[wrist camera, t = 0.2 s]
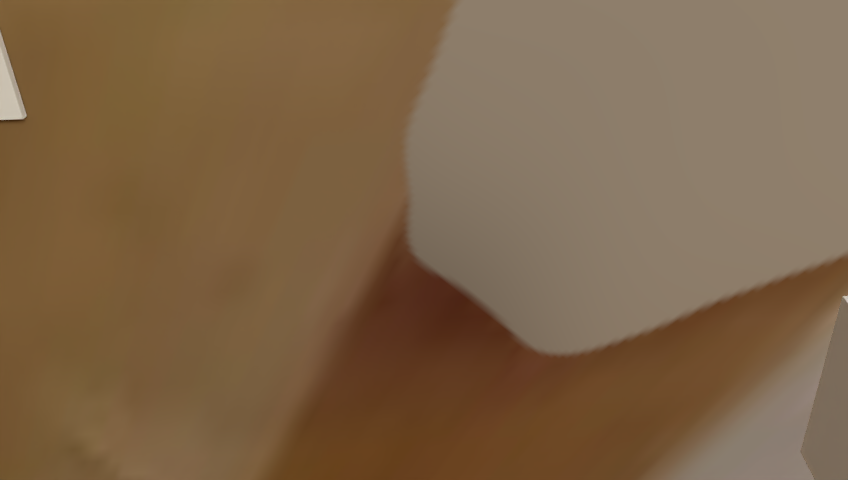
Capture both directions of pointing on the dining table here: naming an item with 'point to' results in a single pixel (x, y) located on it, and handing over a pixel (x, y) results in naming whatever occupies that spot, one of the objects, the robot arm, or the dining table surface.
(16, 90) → the pad
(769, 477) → the dining table surface
